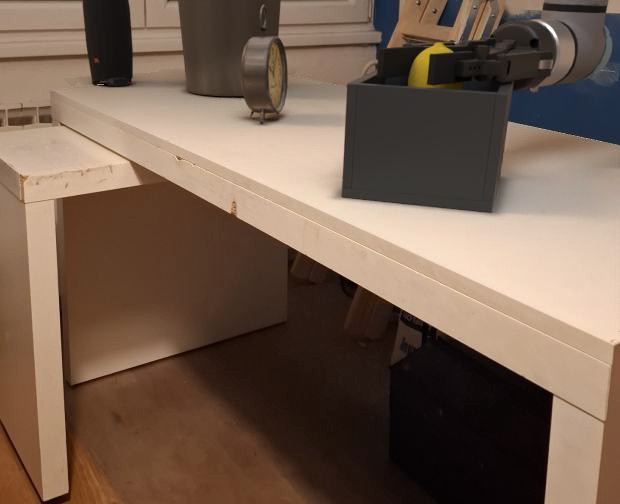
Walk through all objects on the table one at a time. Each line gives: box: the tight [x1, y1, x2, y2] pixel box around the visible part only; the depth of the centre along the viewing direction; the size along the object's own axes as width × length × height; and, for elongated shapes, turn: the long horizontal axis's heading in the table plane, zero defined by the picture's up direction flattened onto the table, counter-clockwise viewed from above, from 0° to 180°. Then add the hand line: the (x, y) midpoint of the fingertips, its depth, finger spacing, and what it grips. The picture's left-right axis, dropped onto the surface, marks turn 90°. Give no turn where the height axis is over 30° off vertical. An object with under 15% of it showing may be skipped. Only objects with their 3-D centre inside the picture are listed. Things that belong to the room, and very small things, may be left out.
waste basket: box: [177, 0, 282, 97], centre depth 138 cm, size 27×20×30 cm
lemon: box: [408, 41, 463, 90], centre depth 77 cm, size 6×6×8 cm
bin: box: [341, 69, 514, 213], centre depth 79 cm, size 15×15×11 cm
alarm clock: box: [240, 5, 289, 125], centre depth 114 cm, size 11×5×16 cm, turn 166°
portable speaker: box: [82, 0, 134, 87], centre depth 144 cm, size 9×9×20 cm
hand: (405, 66), depth 73 cm, fingers closed on lemon, 5 cm apart
